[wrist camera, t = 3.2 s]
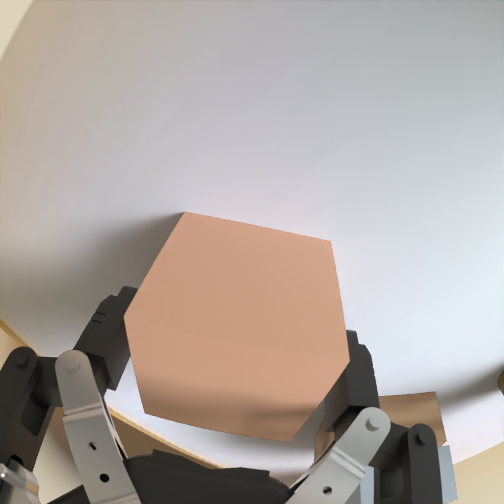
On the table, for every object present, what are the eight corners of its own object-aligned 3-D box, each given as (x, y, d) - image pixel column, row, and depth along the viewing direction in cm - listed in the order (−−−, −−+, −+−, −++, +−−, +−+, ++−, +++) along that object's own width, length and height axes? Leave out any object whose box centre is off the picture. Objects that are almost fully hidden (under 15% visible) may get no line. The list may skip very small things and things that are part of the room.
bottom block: (332, 394, 19) (335, 453, 16) (434, 389, 19) (446, 441, 15) (314, 437, 24) (313, 482, 20) (397, 433, 23) (402, 475, 19)
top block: (358, 447, 15) (360, 515, 11) (448, 445, 15) (457, 498, 12) (304, 479, 19) (301, 529, 16) (386, 479, 20) (388, 523, 16)
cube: (185, 210, 13) (123, 316, 8) (330, 240, 13) (350, 361, 8) (180, 313, 16) (144, 413, 11) (293, 336, 16) (290, 441, 11)
